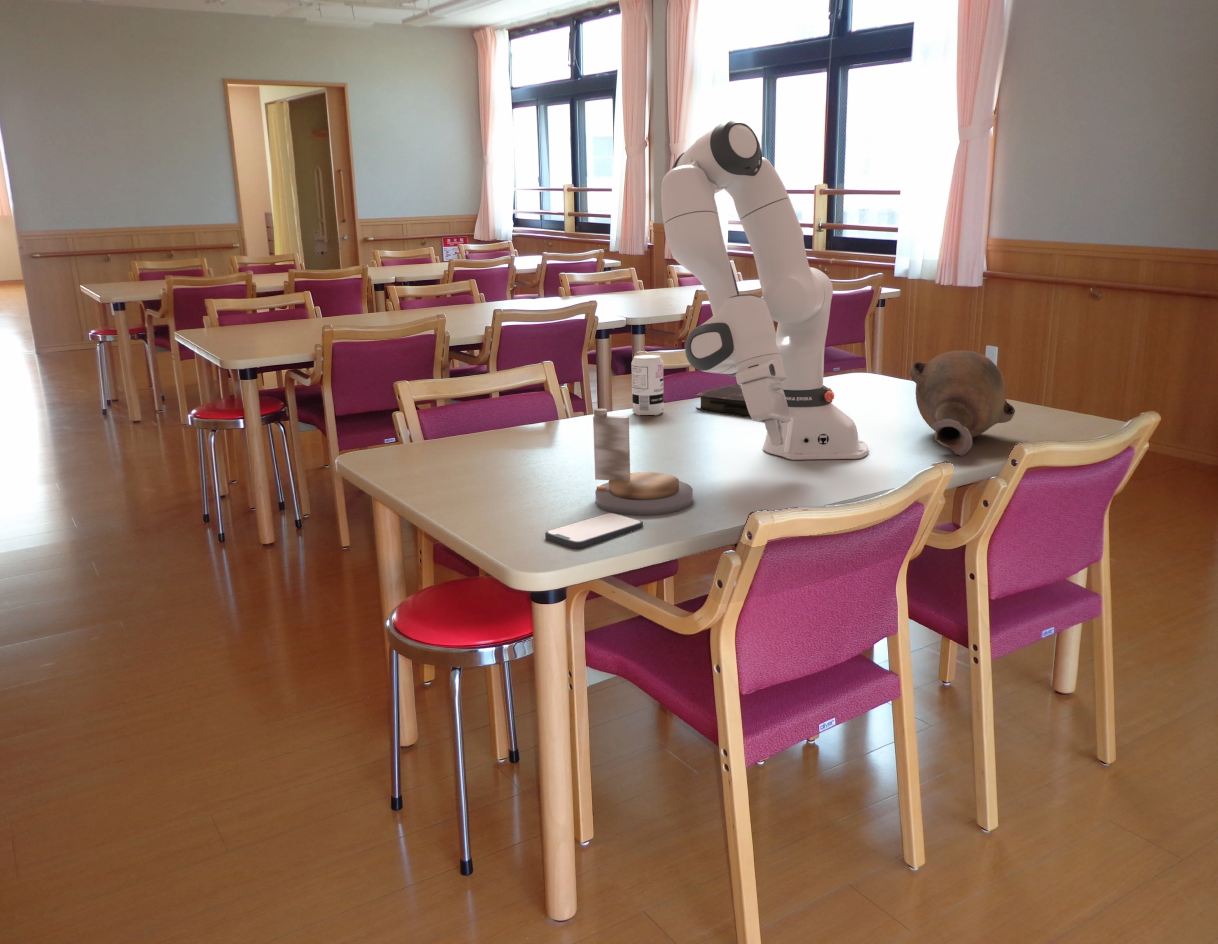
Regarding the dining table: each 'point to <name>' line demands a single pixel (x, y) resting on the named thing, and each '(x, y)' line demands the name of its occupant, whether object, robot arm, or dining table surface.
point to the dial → (624, 462)
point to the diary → (724, 401)
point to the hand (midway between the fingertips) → (778, 445)
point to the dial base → (644, 502)
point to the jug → (960, 397)
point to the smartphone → (593, 530)
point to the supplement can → (647, 385)
